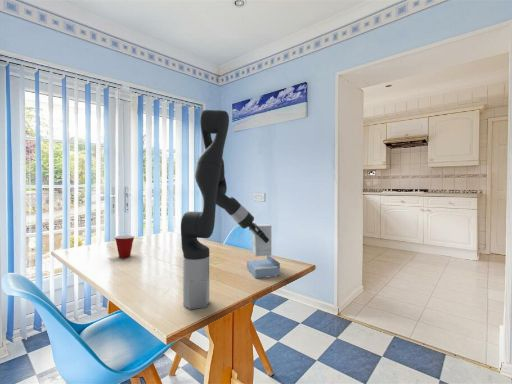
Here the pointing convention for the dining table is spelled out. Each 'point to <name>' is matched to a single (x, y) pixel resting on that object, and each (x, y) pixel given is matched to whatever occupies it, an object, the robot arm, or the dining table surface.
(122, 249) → the plastic cup
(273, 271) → the tray
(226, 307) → the dining table surface
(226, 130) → the robot arm
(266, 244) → the skincare box
